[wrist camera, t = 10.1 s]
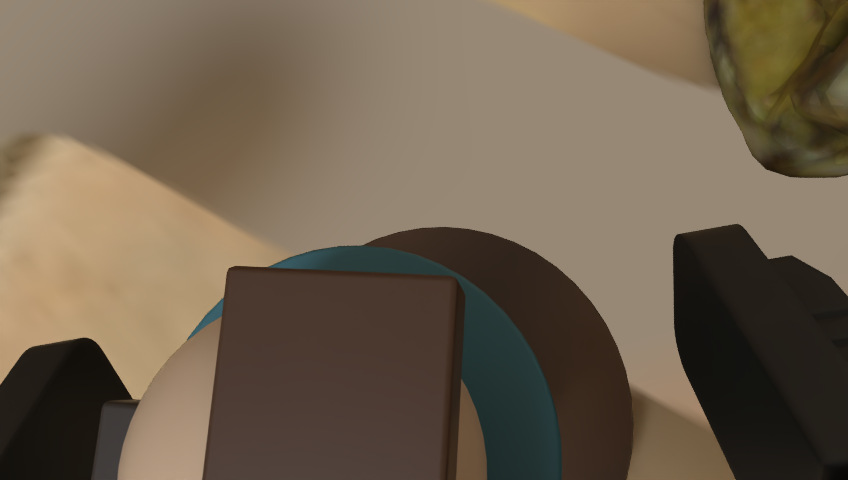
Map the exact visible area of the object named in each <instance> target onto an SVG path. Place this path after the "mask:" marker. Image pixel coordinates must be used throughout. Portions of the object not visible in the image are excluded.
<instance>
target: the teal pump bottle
mask: <svg viewBox="0 0 848 480" xmlns="http://www.w3.org/2000/svg"><path fill="white" fill-rule="evenodd" d="M562 470H563V469H562V444H561V435H560V429H559V423H558V417H557V411H556V408H555V405H554V401H553V398H552V395H551V391H550V388H549V385H548V382H547V380H546V377H545V375H544V373H543V371H542V369H541V366H540V364H539V362H538V360H537V357H536V356H535V354H534V352H533V351H532V349H531V347H530V346H529V344H528V343H527V341H526V339H525V338H524V336H523V334H522V333H521V331H520V330H519V329H518V328H517V326H516V325H515V324H514V323H513V322H512V320H511V319H510V318H509V317H508V315H507V314H506V313H505V312H504V310H502V309H501V308H500V307H499V306H498V305H497V304H496V303H495V302H494V301H493V300H492V299H491V298H490V297H489V296H488V295H487V294H486V293H485V292H483V291H482V290H481V289H479V288H478V287H477V286H475V285H474V284H473V283H471V282H470V281H468V280H467V279H466V278H464V277H463V276H461V275H459V274H458V273H456V272H454V271H452V270H450V269H448V268H447V267H445V266H443V265H441V264H439V263H437V262H434V261H431V260H429V259H426V258H424V257H421V256H419V255H416V254H412V253H408V252H404V251H400V250H396V249H392V248H384V247H374V246H338V247H331V248H326V249H319V250H313V251H310V252H306V253H303V254H300V255H296V256H293V257H290V258H287V259H285V260H283V261H281V262H278V263H276V264H274V265H271V266H269V267H247V266H234V267H231V268H229V269H228V272H227V277H226V286H225V294H224V298H223V299H222V300H221V301H220V302H219V303H218V304H217V305H216V306H215V307H214V308H213V309H212V310H211V311H210V312H209V313H208V314H207V315H206V316H205V317H204V318H203V319H202V321H201V322H200V323H199V325H198V326H197V327H196V328H195V330H194V331H193V332H192V333H191V335H190V336H189V338H188V339H187V341H186V342H185V343H184V344H183V345H182V346H181V347H180V348H179V349H178V350H177V351H176V352H175V353H174V354H173V355H172V356H171V357H170V358H169V359H168V360H167V362H166V363H165V364H164V365H163V367H162V368H161V369H160V371H159V372H158V373H157V374H156V376H155V377H154V379H153V380H152V382H151V384H150V385H149V387H148V389H147V390H146V392H145V393H144V395H143V397H142V399H141V400H135V399H133V400H114V401H108V402H106V403H104V405H103V407H102V410H101V417H100V424H99V430H98V437H97V444H96V450H95V457H94V463H93V470H92V477H91V480H562Z"/></svg>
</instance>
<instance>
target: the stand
mask: <svg viewBox="0 0 848 480" xmlns="http://www.w3.org/2000/svg"><path fill="white" fill-rule="evenodd" d="M362 246H374V247H384V248H392V249H396V250H400V251H404V252H408V253H412V254H416V255H419V256H421V257H424V258H426V259H429V260H431V261H434V262H437V263H439V264H441V265H443V266H445V267H447V268H448V269H450V270H452V271H454V272H456V273H458V274H459V275H461V276H463V277H464V278H466V279H467V280H468V281H470V282H471V283H473V284H474V285H475V286H477V287H478V288H479V289H481V290H482V291H483V292H485V293H486V294H487V295H488V296H489V297H490V298H491V299H492V300H493V301H494V302H495V303H496V304H497V305H498V306H499V307H500V308H501V309H502V310H504V312H505V313H506V314H507V315H508V317H509V318H510V319H511V320H512V322H513V323H514V324H515V325H516V326H517V328H518V329H519V330H520V331H521V333H522V334H523V336H524V338H525V339H526V341H527V343H528V344H529V346H530V347H531V349H532V351H533V352H534V354H535V356H536V357H537V360H538V362H539V364H540V366H541V369H542V371H543V373H544V375H545V377H546V380H547V382H548V385H549V388H550V391H551V395H552V398H553V401H554V405H555V408H556V411H557V417H558V423H559V429H560V435H561V444H562V469H563V470H562V480H626V479H627V475H628V470H629V464H630V459H631V454H632V443H633V411H632V398H631V393H630V388H629V383H628V379H627V374H626V370H625V367H624V364H623V361H622V359H621V356H620V353H619V350H618V347H617V345H616V343H615V341H614V339H613V337H612V335H611V333H610V331H609V329H608V327H607V325H606V323H605V322H604V320H603V319H602V317H601V316H600V314H599V313H598V311H597V310H596V308H595V307H594V305H593V304H592V302H591V301H590V300H589V299H588V298H587V297H586V296H585V294H584V293H583V292H582V291H581V290H580V289H579V287H578V286H577V285H576V284H575V283H574V282H573V281H572V280H570V279H569V278H568V277H567V276H566V275H565V274H564V273H563V272H562V271H560V270H559V269H558V268H557V267H556V266H554V265H553V264H551V263H550V262H548V261H547V260H545V259H544V258H543V257H541V256H540V255H538V254H537V253H535V252H533V251H531V250H529V249H527V248H525V247H523V246H521V245H519V244H517V243H515V242H512V241H510V240H507V239H504V238H501V237H499V236H496V235H493V234H489V233H484V232H480V231H475V230H470V229H462V228H450V227H437V228H420V229H414V230H408V231H402V232H398V233H394V234H391V235H388V236H385V237H381V238H378V239H376V240H373V241H371V242H369V243H367V244H365V245H362Z"/></svg>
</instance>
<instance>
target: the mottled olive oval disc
mask: <svg viewBox="0 0 848 480" xmlns="http://www.w3.org/2000/svg"><path fill="white" fill-rule="evenodd" d="M704 17H705V28H706V35H707V38H708V41H709V47H710V54H711V59H712V63H713V67H714V70H715V74H716V77H717V79H718V82H719V84H720V87H721V91H722V95H723V97H724V100H725V102H726V104H727V107H728V109H729V111H730V112H731V114H732V116H733V117H734V119H735V121H736V122H737V124H738V126H739V127H740V130H741V131H742V133H743V136H744V138H745V141H746V144H747V146H748V148H749V150H750V152H751V154H752V156H753V157H754V158H755V159H756V160H757V161H758V162H759V163H761V165H763V167H764V168H765V169H767V170H770V171H773V172H776V173H779V174H782V175H785V176H789V177H800V178H802V177H803V178H819V177H820V178H821V177H822V178H826V177H841V176H845V175H848V0H704Z"/></svg>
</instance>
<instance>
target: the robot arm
mask: <svg viewBox="0 0 848 480" xmlns="http://www.w3.org/2000/svg"><path fill="white" fill-rule="evenodd" d="M673 273H674V274H673V275H674V329H675V337H676V343H677V348H678V352H679V355H680V359H681V362H682V365H683V368H684V371H685V373H686V375H687V377H688V379H689V381H690V383H691V386H692V388H693V390H694V392H695V394H696V396H697V398H698V400H699V403H700V404H701V407H702V409H703V411H704V413H705V415H706V417H707V420H708V422H709V424H710V426H711V428H712V430H713V432H714V434H715V436H716V439H717V441H718V443H719V445H720V447H721V449H722V451H723V453H724V455H725V458H726V460H727V462H728V464H729V466H730V468H731V470H732V472H733V474H734V477H735V479H736V480H848V296H847V295H846V294H845V293H844V292H843V291H842V289H841V288H840V287H839V286H838V285H837V284H836V283H835V281H834V280H833V279H832V278H831V277H829V276H828V275H826V274H824V273H822V272H820V271H819V270H817V269H815V268H813V267H811V266H810V265H808V264H806V263H804V262H802V261H801V260H799V259H797V258H795V257H793V256H785V257H779V258H773V259H767V257H766V256H765V255H764V253H763V252H762V251H761V250H760V248H759V247H758V246H757V244H756V243H755V242H754V240H753V239H752V238H751V236H750V235H749V234H748V233H747V231H746V230H745V229H744V228H743V227H742V226H741V225H739V224H734V225H728V226H722V227H716V228H711V229H705V230H699V231H694V232H688V233H682V234H678V235H676V237H675V239H674V245H673ZM114 400H133V399H132V397H131V395H130V394H129V392H128V391H127V389H126V387H125V386H124V384H123V383H122V381H121V379H120V378H119V376H118V375H117V373H116V371H115V370H114V368H113V367H112V365H111V363H110V362H109V360H108V359H107V357H106V355H105V354H104V352H103V351H102V349H101V348H100V346H99V345H98V344H97V343H96V342H95V341H93V340H92V339H89V338H79V339H73V340H68V341H62V342H56V343H51V344H45V345H39V346H34V347H31V348H29V349H28V350H26V351H25V352H24V353H23V354H22V355H21V357H20V358H19V360H18V361H17V362H16V364H15V365H14V367H13V368H12V369H11V371H10V372H9V374H8V375H7V376H6V378H5V379H4V381H3V382H2V383H1V385H0V480H91V477H92V470H93V463H94V457H95V450H96V444H97V437H98V430H99V424H100V417H101V410H102V407H103V405H104V403H106V402H108V401H114Z"/></svg>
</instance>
